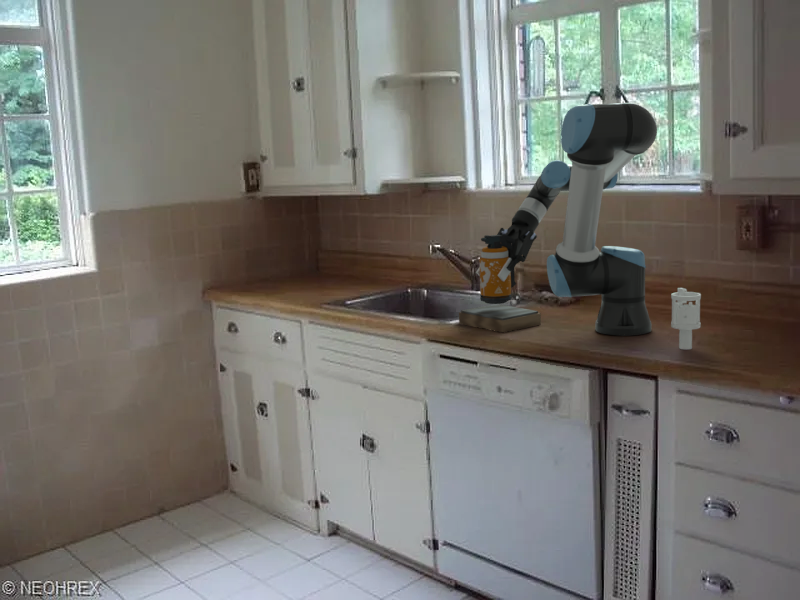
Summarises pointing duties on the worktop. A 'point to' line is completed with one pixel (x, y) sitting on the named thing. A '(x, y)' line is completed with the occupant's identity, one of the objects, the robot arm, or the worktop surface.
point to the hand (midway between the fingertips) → (489, 276)
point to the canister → (495, 269)
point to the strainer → (685, 315)
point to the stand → (500, 317)
